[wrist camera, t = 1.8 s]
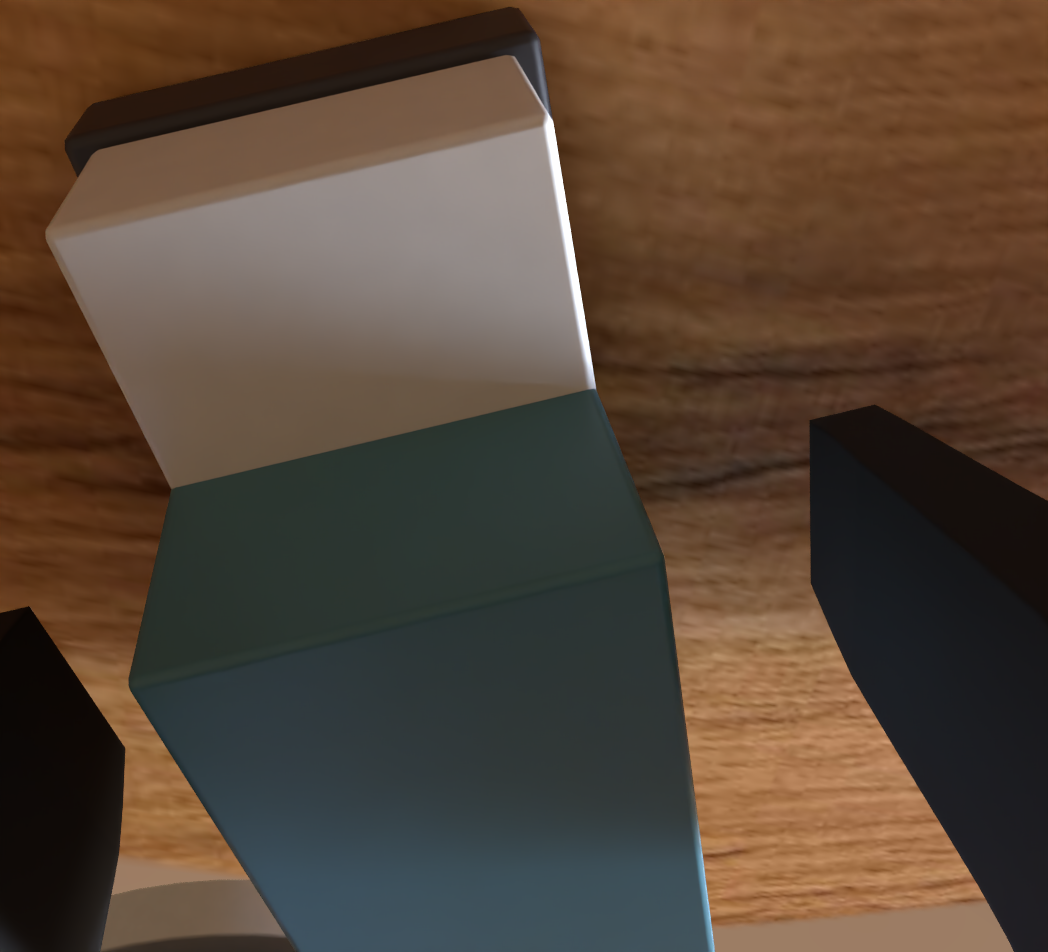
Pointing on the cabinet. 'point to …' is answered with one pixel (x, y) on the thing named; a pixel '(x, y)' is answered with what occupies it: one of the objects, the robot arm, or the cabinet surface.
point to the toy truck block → (390, 501)
